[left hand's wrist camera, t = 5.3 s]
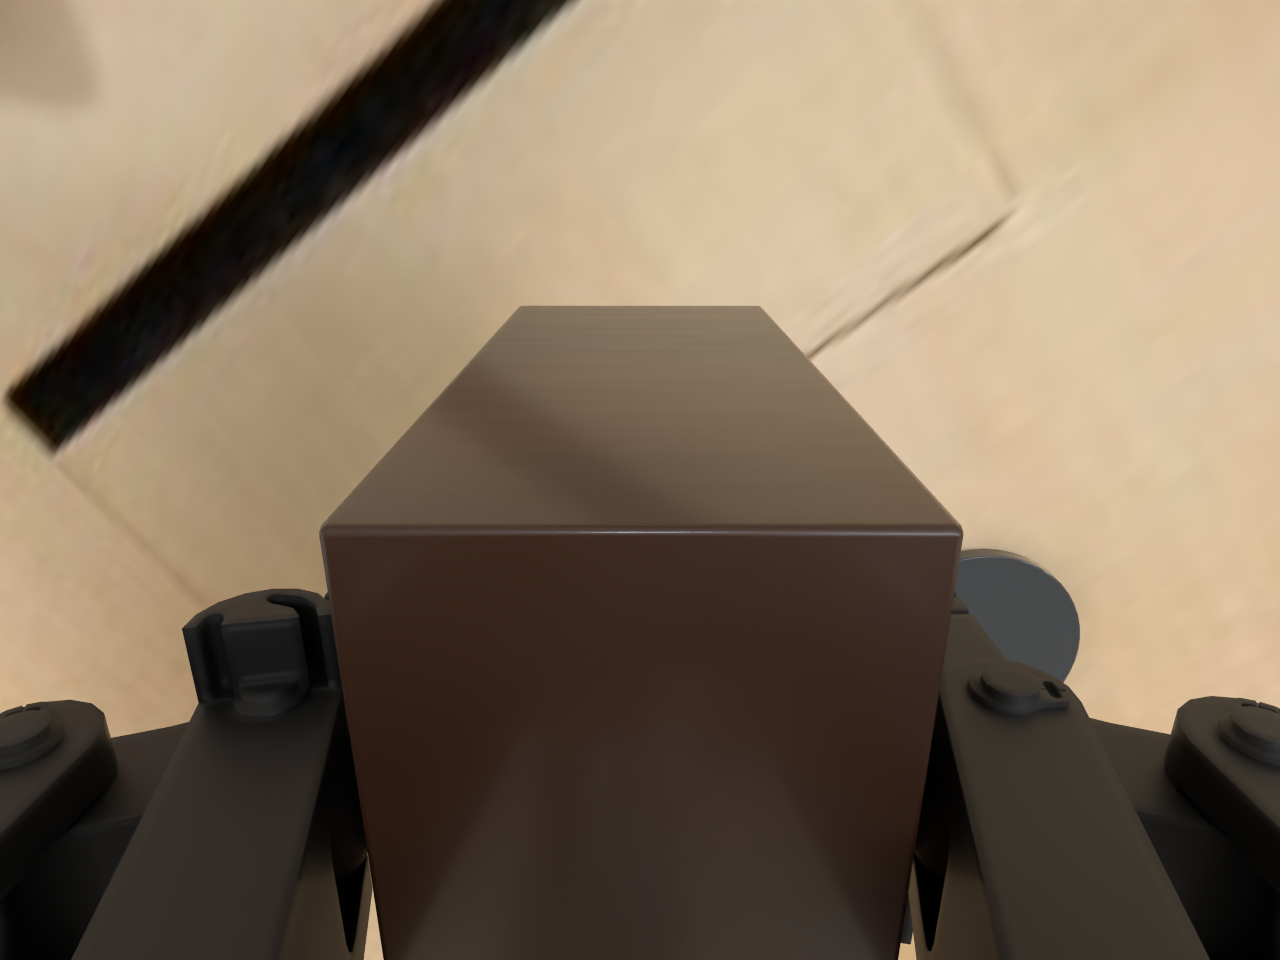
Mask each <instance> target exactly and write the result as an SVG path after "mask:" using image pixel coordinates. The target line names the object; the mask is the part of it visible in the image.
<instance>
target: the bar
mask: <svg viewBox="0 0 1280 960" xmlns="http://www.w3.org/2000/svg"><path fill="white" fill-rule="evenodd" d="M319 535H320V542H321V548H322V555H323V562H324V568H325V575H326V581H327V588H328V595H329V601H330V608H331V614H332V621H333V628H334V634H335V641H336V647H337V654H338V661H339V667H340V674H341V680H342V687H343V694H344V700H345V707H346V713H347V720H348V727H349V733H350V740H351V746H352V753H353V760H354V766H355V773H356V779H357V786H358V793H359V799H360V806H361V812H362V819H363V826H364V832H365V839H366V845H367V852H368V859H369V865H370V872H371V878H372V885H373V892H374V898H375V905H376V911H377V918H378V925H379V931H380V938H381V944H382V951H383V958H384V960H898V956H899V949H900V943H901V936H902V930H903V923H904V917H905V910H906V904H907V897H908V891H909V884H910V878H911V871H912V865H913V858H914V852H915V845H916V839H917V832H918V826H919V819H920V813H921V806H922V800H923V793H924V787H925V780H926V774H927V767H928V761H929V754H930V748H931V741H932V735H933V728H934V722H935V715H936V709H937V702H938V696H939V689H940V683H941V676H942V670H943V663H944V657H945V650H946V644H947V637H948V631H949V624H950V618H951V611H952V604H953V598H954V591H955V585H956V578H957V572H958V565H959V559H960V552H961V546H962V539H963V530H962V527H961V525H960V524H959V523H958V522H957V521H956V520H955V519H954V517H953V516H952V515H951V514H950V513H949V512H948V511H947V510H946V509H945V508H944V507H943V505H942V504H941V503H940V502H939V501H938V500H937V499H936V498H935V497H934V496H933V495H932V493H931V492H930V491H929V490H928V489H927V488H926V487H925V486H924V485H923V484H922V483H921V481H920V480H919V479H918V478H917V477H916V476H915V475H914V474H913V473H912V472H911V471H910V469H909V468H908V467H907V466H906V465H905V464H904V463H903V462H902V461H901V460H900V459H899V457H898V456H897V455H896V454H895V453H894V452H893V451H892V450H891V449H890V448H889V446H888V445H887V444H886V443H885V442H884V441H883V440H882V439H881V438H880V437H879V436H878V434H877V433H876V432H875V431H874V430H873V429H872V428H871V427H870V426H869V425H868V424H867V422H866V421H865V420H864V419H863V418H862V417H861V416H860V415H859V414H858V413H857V412H856V410H855V409H854V408H853V407H852V406H851V405H850V404H849V403H848V402H847V401H846V400H845V398H844V397H843V396H842V395H841V394H840V393H839V392H838V391H837V390H836V389H835V388H834V386H833V385H832V384H831V383H830V382H829V381H828V380H827V379H826V378H825V377H824V376H823V374H822V373H821V372H820V371H819V370H818V369H817V368H816V367H815V366H814V365H813V364H812V362H811V361H810V360H809V359H808V358H807V357H806V356H805V355H804V354H803V353H802V351H801V350H800V349H799V348H798V347H797V346H796V345H795V344H794V343H793V342H792V341H791V339H790V338H789V337H788V336H787V335H786V334H785V333H784V332H783V331H782V330H781V329H780V327H779V326H778V325H777V324H776V323H775V322H774V321H773V320H772V319H771V318H770V317H769V315H768V314H767V313H766V312H765V311H764V310H763V309H762V308H761V307H759V306H521V307H519V308H518V309H517V310H516V311H515V313H514V314H513V315H512V316H511V317H510V318H509V319H508V320H507V321H506V322H505V324H504V325H503V326H502V327H501V328H500V329H499V330H498V331H497V332H496V334H495V335H494V336H493V337H492V338H491V339H490V340H489V341H488V342H487V343H486V345H485V346H484V347H483V348H482V349H481V350H480V351H479V352H478V353H477V355H476V356H475V357H474V358H473V359H472V360H471V361H470V362H469V363H468V364H467V366H466V367H465V368H464V369H463V370H462V371H461V372H460V373H459V374H458V376H457V377H456V378H455V379H454V380H453V381H452V382H451V383H450V384H449V385H448V387H447V388H446V389H445V390H444V391H443V392H442V393H441V394H440V395H439V396H438V398H437V399H436V400H435V401H434V402H433V403H432V404H431V405H430V406H429V408H428V409H427V410H426V411H425V412H424V413H423V414H422V415H421V416H420V417H419V419H418V420H417V421H416V422H415V423H414V424H413V425H412V426H411V427H410V429H409V430H408V431H407V432H406V433H405V434H404V435H403V436H402V437H401V438H400V440H399V441H398V442H397V443H396V444H395V445H394V446H393V447H392V448H391V450H390V451H389V452H388V453H387V454H386V455H385V456H384V457H383V458H382V459H381V461H380V462H379V463H378V464H377V465H376V466H375V467H374V468H373V469H372V470H371V472H370V473H369V474H368V475H367V476H366V477H365V478H364V479H363V480H362V482H361V483H360V484H359V485H358V486H357V487H356V488H355V489H354V490H353V491H352V493H351V494H350V495H349V496H348V497H347V498H346V499H345V500H344V501H343V503H342V504H341V505H340V506H339V507H338V508H337V509H336V510H335V511H334V512H333V514H332V515H331V516H330V517H329V518H328V519H327V520H326V521H325V522H324V524H323V525H322V526H321V529H320V532H319Z"/></svg>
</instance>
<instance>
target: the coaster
mask: <svg viewBox="0 0 1280 960" xmlns="http://www.w3.org/2000/svg"><path fill="white" fill-rule="evenodd" d="M955 592H956V597H959V598H960V599H961V600H962V602H963V603H964V604H965V606H966V607H967V608H968V610H969V614H972V615H973V616H974V617H975V619H976V620H977V621H978V623H979V624H980V625H981V627H982V628H983V629H984V631H985V632H986V633H987V635H988V636H989V637H990V639H991V640H992V641H993V642H994V644H995V645H996V646H997V648H998V649H999V650H1000V652H1001V653H1002V654H1003V656H1004V657H1005V658H1006V660H1010V661H1015V662H1020V663H1024V664H1026V665H1029V666H1031V667H1034V668H1036V669H1039V670H1041V671H1044V672H1047V673H1048V674H1050V675H1051V676H1053V677H1055V678H1056V679H1058V680H1059V681H1061V682H1062V683H1063V682H1064V681H1065V679H1066V677H1067V676H1068V674H1069V673H1070V671H1071V668H1072V666H1073V664H1074V662H1075V659H1076V655H1077V652H1078V647H1079V640H1080V625H1079V619H1078V614H1077V611H1076V608H1075V605H1074V602H1073V601H1072V599H1071V597H1070V595H1069V593H1068V592H1067V591H1066V589H1065V588H1064V587H1063V585H1062V584H1061V583H1060V582H1059V581H1058V580H1057V579H1056V578H1055V577H1054V576H1053V575H1051V574H1050V573H1049V572H1048V571H1047V570H1046V569H1045V568H1043V567H1042V566H1040V565H1039V564H1037V563H1036V562H1034V561H1032V560H1030V559H1028V558H1026V557H1023V556H1020V555H1017V554H1014V553H1010V552H1004V551H999V550H970V551H964V552H960V559H959V565H958V572H957V578H956V585H955Z"/></svg>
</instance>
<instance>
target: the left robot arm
mask: <svg viewBox="0 0 1280 960" xmlns="http://www.w3.org/2000/svg"><path fill="white" fill-rule="evenodd" d="M182 631H183V635H184V639H185V644H186V648H187V653H188V657H189V662H190V666H191V671H192V675H193V679H194V684H195V688H196V693H197V697H198V702H199V704H198V706H197V708H196V710H195V712H194V714H193V716H192V718H191V720H190V722H187V723H183V724H179V725H175V726H171V727H166V728H161V729H156V730H151V731H146V732H140V733H135V734H130V735H125V736H120V737H114V738H111V737H110V734H109V730H108V726H107V723H106V719H105V715H104V713H103V712H102V711H101V710H99V709H98V708H97V707H96V706H94V705H93V704H92V703H86V702H80V701H74V700H63V701H51V702H38V703H32V704H27V705H26V706H25V707H22V706H20V707H16V708H13V709H10V710H7V711H4V712H2V713H1V714H0V960H364V952H365V944H366V936H367V928H368V920H369V912H370V904H371V895H372V882H371V875H370V868H369V861H368V855H367V845H366V839H365V832H364V826H363V819H362V812H361V806H360V799H359V793H358V786H357V779H356V773H355V766H354V760H353V753H352V746H351V740H350V733H349V727H348V720H347V713H346V707H345V700H344V694H343V687H342V680H341V674H340V667H339V661H338V654H337V647H336V641H335V634H334V628H333V621H332V614H331V608H330V601H329V595H328V593H327V594H326V595H325V598H323V597H322V596H320V595H319V594H318V593H314V592H309V591H305V590H301V589H269V590H263V591H257V592H252V593H246V594H242V595H239V596H236V597H233V598H230V599H227V600H224V601H221V602H218V603H216V604H215V605H213V606H211V607H209V608H207V609H206V610H204V611H202V612H200V613H198V614H196V615H195V616H194V617H193V618H192V619H191V620H190V621H189V622H188V623H187V624H186V625H185V626H184V627H183V628H182ZM912 933H913V934H914V942H915V950H916V958H917V960H1280V709H1279V708H1277V707H1275V706H1272V705H1269V704H1265V703H1262V702H1260V703H1256V701H1254V700H1248V699H1243V698H1228V697H1216V696H1209V697H1203V698H1197V699H1191V700H1189V701H1188V702H1186V703H1185V704H1184V705H1183V706H1181V707H1180V708H1179V709H1178V711H1177V714H1176V718H1175V722H1174V725H1173V729H1172V732H1171V735H1170V734H1165V733H1160V732H1154V731H1149V730H1144V729H1139V728H1133V727H1128V726H1123V725H1118V724H1113V723H1108V722H1104V721H1100V720H1096V719H1092V718H1089V716H1088V714H1087V712H1086V710H1085V708H1084V706H1083V704H1082V702H1081V701H1080V700H1079V699H1078V698H1077V696H1076V695H1075V694H1074V693H1073V691H1072V690H1071V689H1070V688H1069V687H1068V686H1067V685H1065V684H1064V683H1062V682H1061V681H1059V680H1058V679H1056V678H1055V677H1053V676H1051V675H1050V674H1048V673H1047V672H1044V671H1041V670H1039V669H1036V668H1034V667H1031V666H1029V665H1026V664H1024V663H1020V662H1015V661H1010V660H1006V658H1005V657H1004V656H1003V654H1002V653H1001V652H1000V650H999V649H998V648H997V646H996V645H995V644H994V642H993V641H992V640H991V639H990V637H989V636H988V635H987V633H986V632H985V631H984V629H983V628H982V627H981V625H980V624H979V623H978V621H977V620H976V619H975V617H974V616H973V615H972V614H969V610H968V608H967V607H966V606H965V604H964V603H963V602H962V600H961V599H960V598H959V597H956V592H955V591H954V598H953V604H952V611H951V618H950V624H949V631H948V637H947V644H946V650H945V657H944V663H943V670H942V676H941V683H940V689H939V696H938V702H937V709H936V715H935V722H934V728H933V735H932V741H931V748H930V754H929V761H928V767H927V774H926V780H925V787H924V793H923V800H922V806H921V813H920V819H919V826H918V832H917V839H916V845H915V852H914V858H913V865H912V871H911V878H910V884H909V891H908V897H907V904H906V910H905V917H904V923H903V930H902V936H901V943H905V944H911V939H912Z"/></svg>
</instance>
